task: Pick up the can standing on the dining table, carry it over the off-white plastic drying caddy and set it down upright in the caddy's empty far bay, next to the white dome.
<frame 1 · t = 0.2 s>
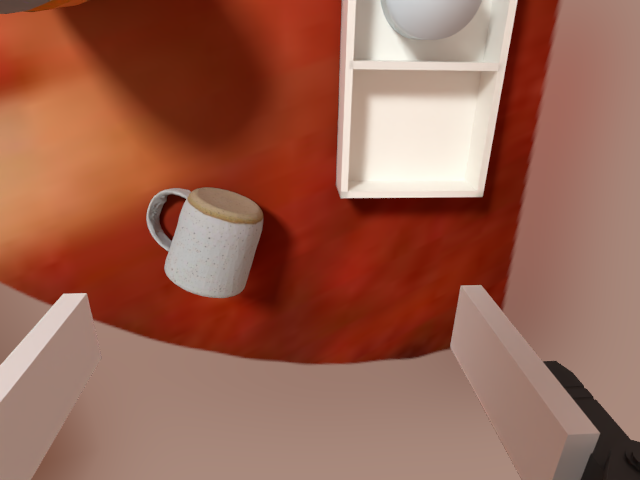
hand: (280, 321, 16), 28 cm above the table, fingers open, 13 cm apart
caddy: (413, 63, 38), on the table
ceramic mug: (208, 222, 43), on the table
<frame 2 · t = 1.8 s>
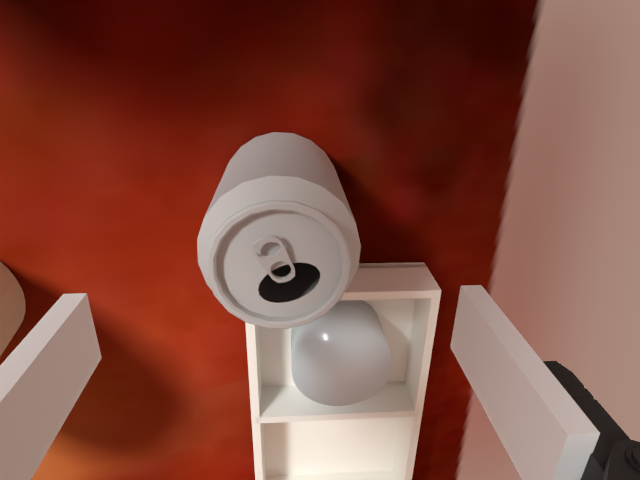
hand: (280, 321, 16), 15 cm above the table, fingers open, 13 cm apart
white dome: (336, 332, 34), point 1 cm above the table, touching caddy
can: (281, 184, 30), on the table
caddy: (332, 379, 37), on the table
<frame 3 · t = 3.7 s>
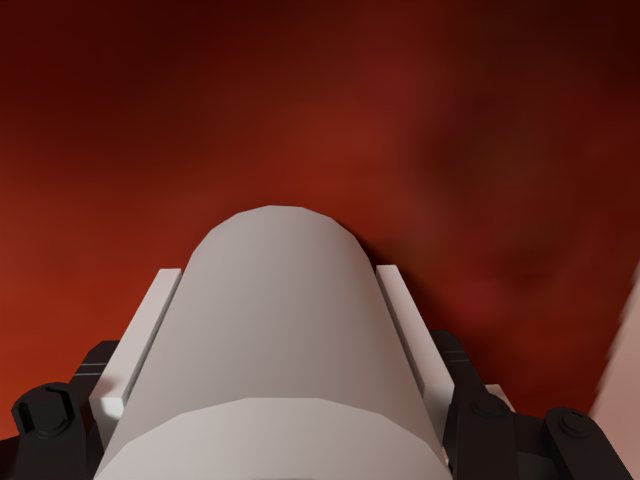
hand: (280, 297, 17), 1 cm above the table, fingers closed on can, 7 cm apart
can: (281, 280, 18), on the table, touching gripper
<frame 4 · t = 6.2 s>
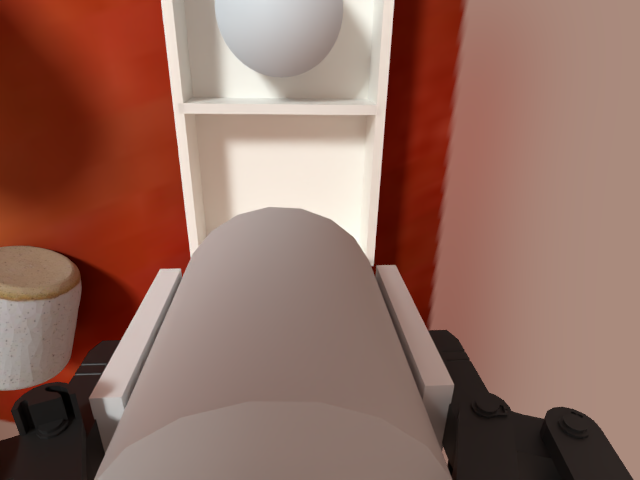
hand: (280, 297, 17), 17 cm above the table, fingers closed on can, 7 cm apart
white dome: (280, 13, 28), point 1 cm above the table, touching caddy
can: (281, 281, 18), point 16 cm above the table, touching gripper
caddy: (282, 101, 31), on the table
ceramic mug: (28, 284, 35), on the table
when the fingers open (4 cm above the table, at t = 9.0 s): can drops 2 cm, resting on caddy.
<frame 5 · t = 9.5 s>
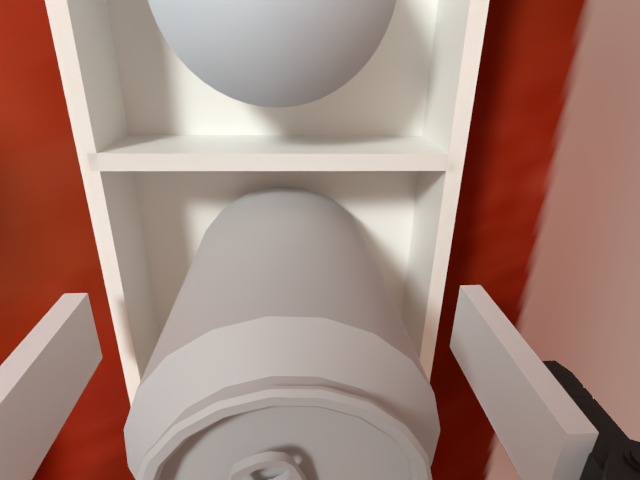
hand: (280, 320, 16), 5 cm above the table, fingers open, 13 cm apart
can: (285, 258, 20), point 1 cm above the table, touching caddy
caddy: (279, 138, 18), on the table
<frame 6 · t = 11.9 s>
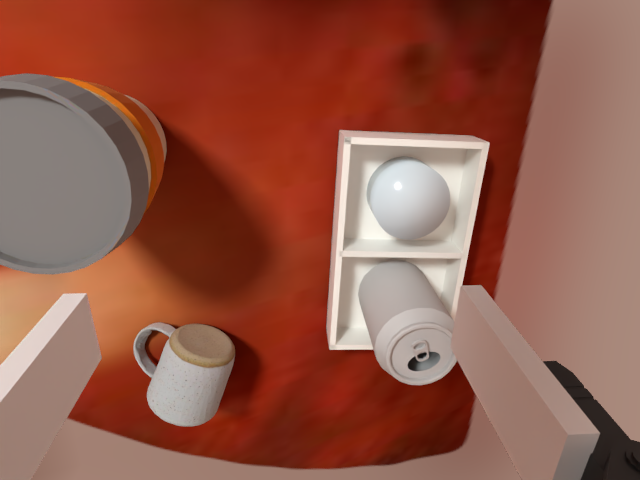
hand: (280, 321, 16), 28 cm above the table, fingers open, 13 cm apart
white dome: (401, 191, 43), point 1 cm above the table, touching caddy
can: (390, 286, 47), point 1 cm above the table, touching caddy
caddy: (393, 239, 46), on the table
ceramic mug: (187, 347, 50), on the table
reusable coffee cup: (117, 142, 40), on the table
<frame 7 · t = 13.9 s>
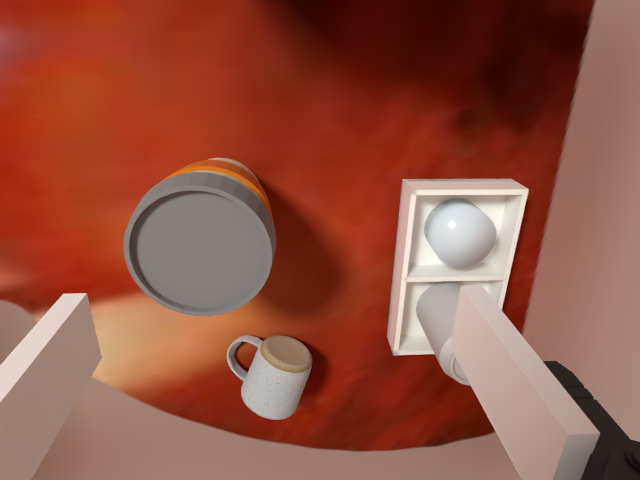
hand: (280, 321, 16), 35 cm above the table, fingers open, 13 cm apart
white dome: (452, 226, 52), point 1 cm above the table, touching caddy
can: (441, 301, 57), point 1 cm above the table, touching caddy
caddy: (444, 263, 55), on the table
ceramic mug: (268, 354, 60), on the table
reusable coffee cup: (223, 196, 50), on the table
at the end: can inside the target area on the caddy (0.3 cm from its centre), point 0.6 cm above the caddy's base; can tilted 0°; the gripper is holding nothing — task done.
